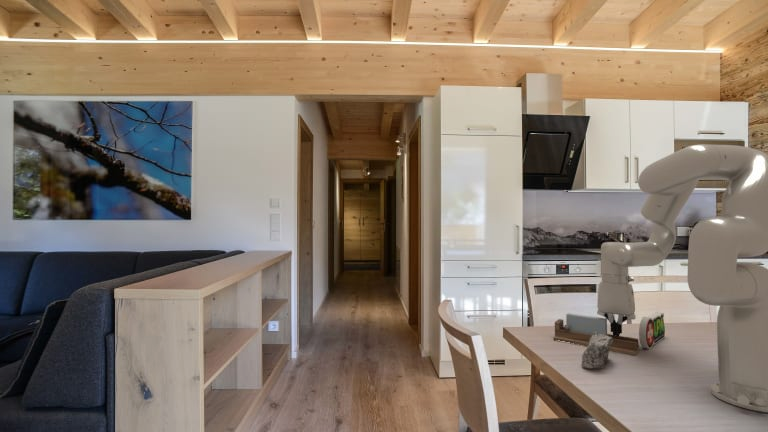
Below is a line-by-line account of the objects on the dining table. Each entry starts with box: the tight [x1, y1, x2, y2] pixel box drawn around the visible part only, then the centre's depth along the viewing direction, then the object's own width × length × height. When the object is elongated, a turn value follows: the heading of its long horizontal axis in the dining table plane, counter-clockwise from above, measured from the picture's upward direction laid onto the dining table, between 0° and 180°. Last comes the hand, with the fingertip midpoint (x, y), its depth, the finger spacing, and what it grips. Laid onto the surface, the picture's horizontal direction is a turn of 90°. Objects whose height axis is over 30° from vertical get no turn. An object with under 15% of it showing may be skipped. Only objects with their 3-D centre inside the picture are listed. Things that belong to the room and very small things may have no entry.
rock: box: [581, 332, 613, 369], centre depth 104 cm, size 16×8×10 cm, turn 128°
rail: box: [553, 318, 640, 357], centre depth 122 cm, size 9×24×6 cm, turn 49°
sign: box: [638, 311, 666, 350], centre depth 122 cm, size 22×2×10 cm, turn 129°
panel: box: [565, 312, 608, 335], centre depth 124 cm, size 2×12×8 cm, turn 48°
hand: (616, 334), depth 118 cm, fingers closed
